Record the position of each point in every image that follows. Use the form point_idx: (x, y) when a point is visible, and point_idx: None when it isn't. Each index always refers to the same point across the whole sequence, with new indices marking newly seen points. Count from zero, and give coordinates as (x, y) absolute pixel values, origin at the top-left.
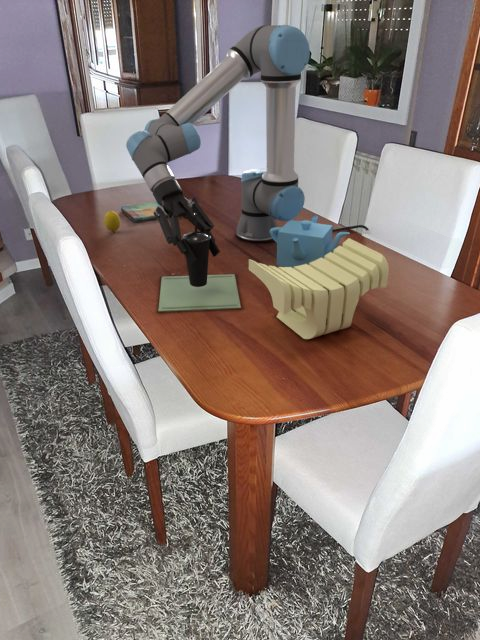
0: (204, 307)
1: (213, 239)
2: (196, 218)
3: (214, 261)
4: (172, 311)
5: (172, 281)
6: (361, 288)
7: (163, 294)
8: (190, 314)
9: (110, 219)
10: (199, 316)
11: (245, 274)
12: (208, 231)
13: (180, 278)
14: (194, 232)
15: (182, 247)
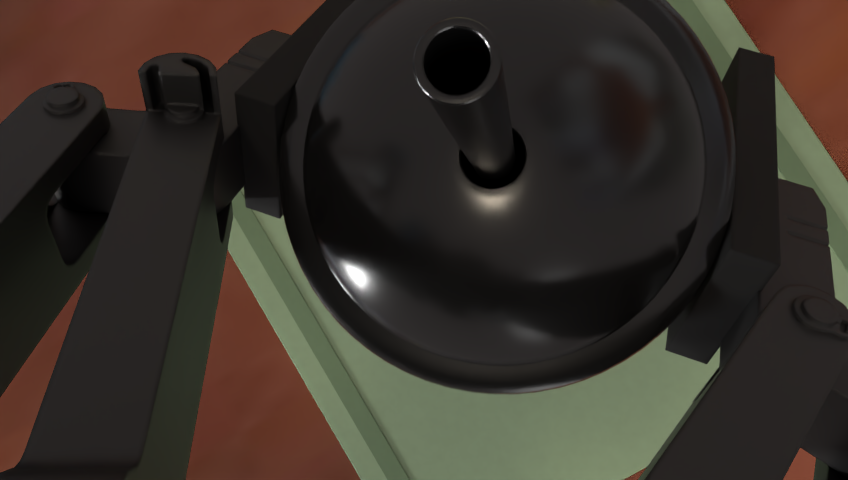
0: (725, 43)
1: (269, 49)
2: (475, 62)
3: (20, 376)
4: None
5: (459, 472)
6: None
7: (681, 417)
8: (844, 88)
9: None
10: (841, 18)
11: (118, 74)
12: (240, 90)
13: (389, 444)
14: (495, 188)
15: (811, 232)
